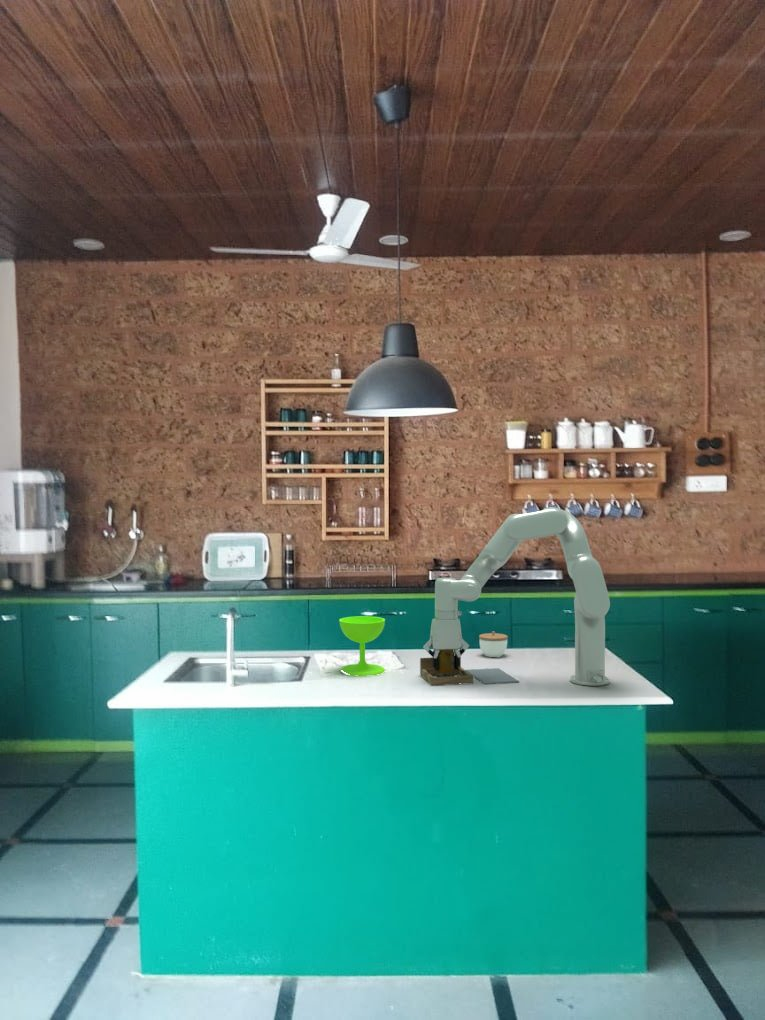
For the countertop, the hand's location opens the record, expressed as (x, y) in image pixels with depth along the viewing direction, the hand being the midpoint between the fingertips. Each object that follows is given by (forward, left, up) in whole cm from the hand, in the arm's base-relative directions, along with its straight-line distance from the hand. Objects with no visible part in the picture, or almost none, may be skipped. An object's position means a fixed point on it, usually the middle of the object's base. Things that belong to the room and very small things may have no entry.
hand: (446, 668), depth 281 cm
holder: (0, 0, -4) cm, 4 cm away
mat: (+1, -16, -4) cm, 17 cm away
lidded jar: (+34, -28, -4) cm, 44 cm away
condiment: (0, 0, -4) cm, 4 cm away
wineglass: (+19, +25, -4) cm, 32 cm away
